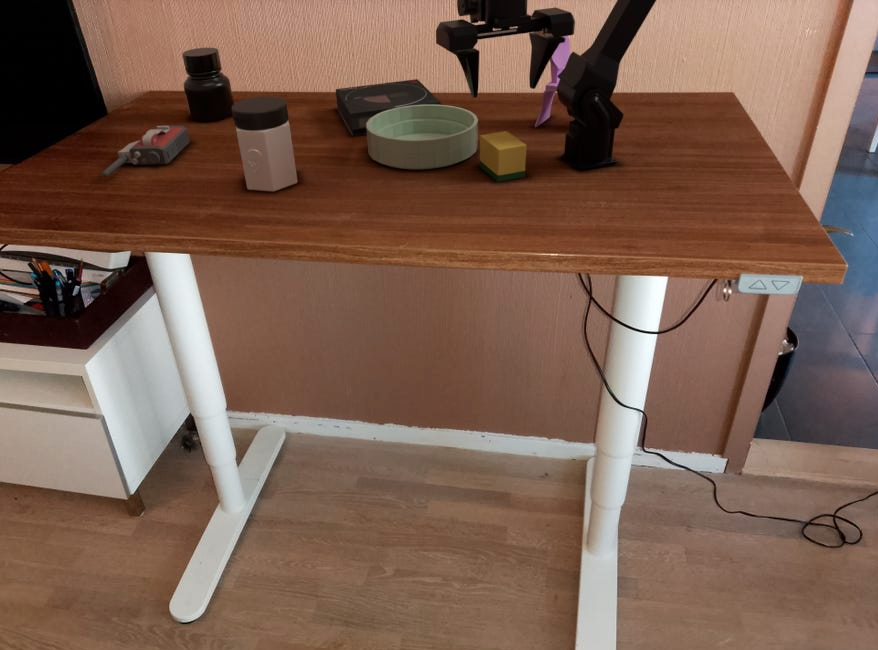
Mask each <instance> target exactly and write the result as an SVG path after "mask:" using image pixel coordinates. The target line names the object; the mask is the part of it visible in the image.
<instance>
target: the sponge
mask: <svg viewBox="0 0 878 650" xmlns="http://www.w3.org/2000/svg"><path fill="white" fill-rule="evenodd" d="M526 161H527V144H526V143H524V142H523V141H521V140H520V139H518V138H517V137H516V136H514V135H513V134H511V133H510V132H508V131H507V130H504V131H499V132H492V133H485V134H481V135H479V168H480V169H482V170H483V171H484V172H486V174H488V175H489V176H490V177H491V178H492V179H494V180H495V181H496V182H497V183H499V182H504V181H505V182H506V181H511V180H516V179H521V178H522V179H523V178H525V177H526Z"/></svg>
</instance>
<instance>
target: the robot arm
mask: <svg viewBox="0 0 878 650" xmlns="http://www.w3.org/2000/svg"><path fill="white" fill-rule="evenodd" d="M528 2H529V1H528V0H456V8H457V13H458V16H459V17H467V16H469V20H470V21H467V20H465V19H455V20H447V21H440V22H439V23H438V25H437V26H436V30H435V44H436V45H438V46H440V47H441V48H443V49H445V50H446V51H448V52H450V53H451V54H453V55H455V56H456V58H457V60H458V62H459V65H460V66H461V68H462V71H463V74H464V77H465V80H466V83H467V86H468V89H469V92H470V96H471V97H472V98H473V99H475V98H477V97H478V94H479V93H478V92H479V84H480V82H479V81H480V80H479V79H480V78H479V77H480V50H479V49H477V48H475V47H476V45H477V44H478V43H479V42H478V41H479V40H486V39H492V38H493V39H494V38H501V37H508V36H514V35H522V34H523V35H524V34H528V36H529V40H530V46H531V52H530V53H531V54H530V62H529V63H530V64H529V74H528V76H529V77H528V79H529V80H528V81H529V82H528V83H529V89H532V90H535V89H536V88H537V85H538V84H539V82H540V80H541V78H542V76H543V74H544V72H545V69H546V68H547V66H548V64H549V63H550V59H551V57H552V55H553V54H554V52H555V50H556V49H557V47H558V46H559V44H560V43H564V42H565V38H564V37H562V36H568V37H569V36H573V35H575V29H576V19H575V16H574V15H573V13H572V12H571V11H567V10H564V9H561V8H558V7H548V8H541V9H534V11H533V12H532V14H528ZM656 2H657V0H617V1H616V2H615V4H614V5H613V7H612V9H611V11H610V12H609V14H608V16H607V18H606V20H605V21H604V24H603V25H602V26H601V28H600V30H599V32H598V34H597V36H596V37H595V39H594V41H593V42H592V44H591V46H590V47H589V48H588V49H586V50H585V51H584V52H582V54H579V53H577V52H575V51H571V52H570V56H569V59H568V61H567V64H566V66H565V67H564V69H563V71H562V72H561V73H560V74H559V75H558V76H557V77H558V78H559V79H560V81H559V83H558V86H557V91H556V94H557V98H558V100H559V102H560V104H562V105H563V106H564V107H565V108H566V111H567V115H568V116H569V117H572V118H573V120H570V121H569V122H568V131H567V132H566V133H565V138H564V139H565V140H564V153H561V155H560V158H561V159H563V160H565V161H566V162H567V163H568V164H571V166H573V167H575V168H576V169H578V170H580V171H585V170H589V169H590V170H591V169H596V168H601V167H607V166H612V165H616V164H617V163H618V159H616V158H615V157H613V149H614V142H615V141H614V140H615V132H616V130H617V129H619V127H620V125H621V123H622V121H623V118H624V112H622V111H621V110H620V109H619V107H617V105H616V104H614V102H613V101H612V100H611V99H612V96H613V93H614V91H615V89H616V86H617V83H618V78H619V77H618V76H619V71H620V64H621V62H622V59H623V58H624V56H625V55H626V54H627V53H626V52H627V51H628V50H629V47H630V46H631V44H632V42H633V41H634V39H635V38H636V36H637V34H638V32H639V31H640V29H641V27H642V25H643V24H644V22H645V21H646V19H647V17H648V15H649V14H650V12H651V10H652V9H653V7H654V5H655V4H656ZM479 22H481V24H479ZM482 22H484V23H482ZM477 23H478V24H477Z"/></svg>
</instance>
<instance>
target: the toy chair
mask: <svg viewBox="0 0 878 650" xmlns="http://www.w3.org/2000/svg"><path fill="white" fill-rule="evenodd" d="M562 37H564V38H565V42H564V43H560V44H559V46H558V47H557V49H556V50H555V52H554V54H553V55H552V57H551V59H550V60H549V63H550V79H551V81H549V82H548V83H546V84H545V89H544V90H543V93H542V96H541V104H540V105H541V106H540V110H539V114H538V116H537V119H536V122H535V124H534V128H538V127H539V126H540V125H542V124H543V123H544V122H545V121H547V120H548V119H550V117H551V109H552V104H553V101H554V97H555V93H556V92H557V86H558V83H559V81H560V79H559V78H558V77H557V76H558V75H559V74H560V73H561V72H562V71H563V69H564V68H565V66H566V64H567V61H568V59H569V56H570V55H571V40H570V38H569V36H562Z"/></svg>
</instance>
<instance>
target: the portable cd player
mask: <svg viewBox="0 0 878 650" xmlns="http://www.w3.org/2000/svg"><path fill="white" fill-rule="evenodd" d="M335 96H336V97H335V98H336V106H337V107H336V108H337V112H338V113H339V115H340V117H341V119H342V121H343V122H344V124H345V126H346V127H347V129H348V131H349V132H350V134H351V136H352V137H356V136H357V137H358V136H364V135H367V128H366V123H367V122H368V120H369V119H370V118H371V117H373V116H375V115H376V114H378V113H381V112H383V111H386V110H390V109H394V108H398V107H404V106H411V105H425V104H427V105H442V103H441V101H440V100H439V99H438V98H437V97H436V96H435V95H434V94H433V93H432V92H431V91H430V90H429V89H428V88H427V87H426V86H425V85H424V84H423V83H422V82H421V81H420V80H419V79H418V78H416V79H408V80H398V81H392V82H391V81H390V82H382V83H375V84H366V85H359V86H350V87H342V88H335Z"/></svg>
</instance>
